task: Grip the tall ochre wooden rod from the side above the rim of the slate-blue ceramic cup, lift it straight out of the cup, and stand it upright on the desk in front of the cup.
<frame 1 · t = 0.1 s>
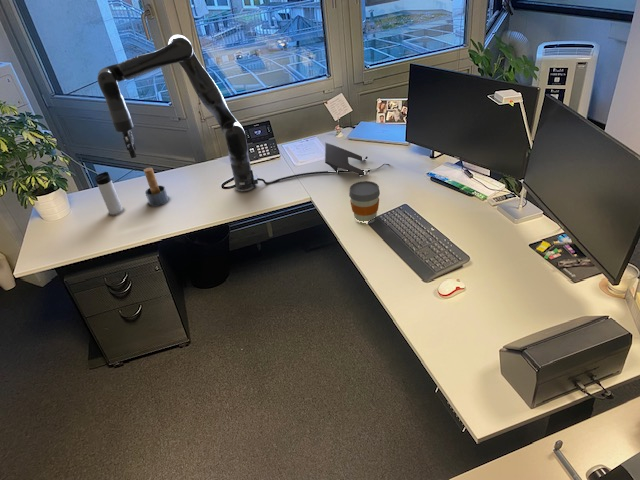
hand: (133, 153, 204), 29 cm above the table, tool pointing down, fingers open, 8 cm apart
reusable coffee cup: (365, 219, 198), on the table
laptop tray: (347, 169, 236), on the table
wooden rod: (158, 200, 226), point 1 cm above the table, touching pen cup
travel mug: (116, 212, 222), on the table
pen cup: (159, 201, 227), on the table
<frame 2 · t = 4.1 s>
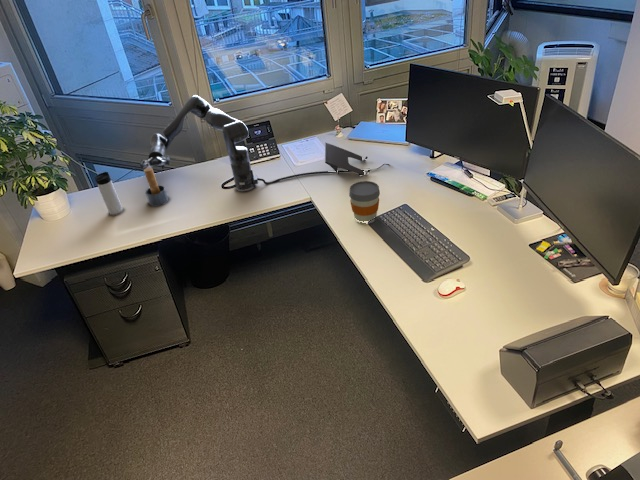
hand: (153, 168, 228), 13 cm above the table, tool horizontal, fingers open, 8 cm apart
nothing on the table moved.
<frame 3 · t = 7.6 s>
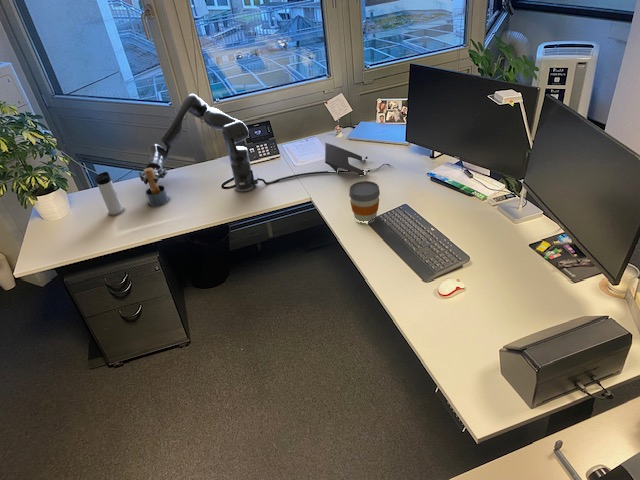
hand: (150, 181, 217), 12 cm above the table, tool horizontal, fingers closed on wooden rod, 4 cm apart
wooden rod: (158, 200, 226), point 1 cm above the table, touching gripper, pen cup
everything else where it was.
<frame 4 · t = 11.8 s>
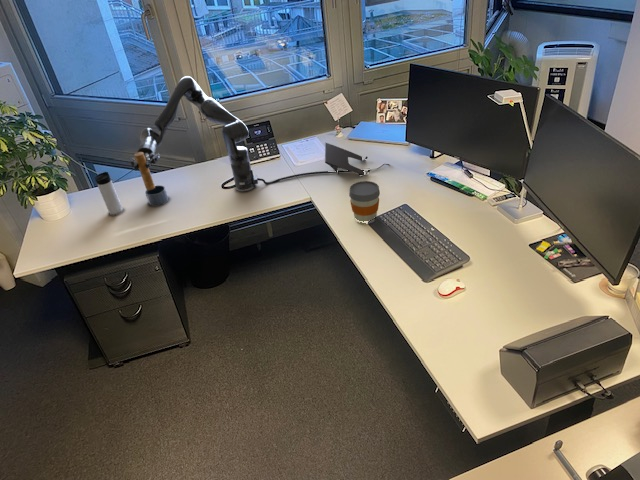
hand: (141, 167, 202), 25 cm above the table, tool horizontal, fingers closed on wooden rod, 4 cm apart
wooden rod: (150, 188, 211), point 13 cm above the table, touching gripper
everything else where it was.
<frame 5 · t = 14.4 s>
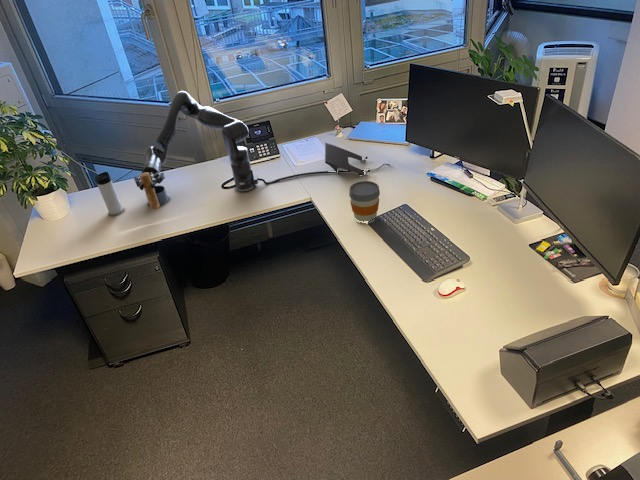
hand: (146, 187, 203), 17 cm above the table, tool horizontal, fingers closed on wooden rod, 4 cm apart
wooden rod: (155, 207, 212), point 5 cm above the table, touching gripper
everything else where it was.
when the fingers open (12 cm above the table, at t = 16.2 s): wooden rod stays where it is, on the table.
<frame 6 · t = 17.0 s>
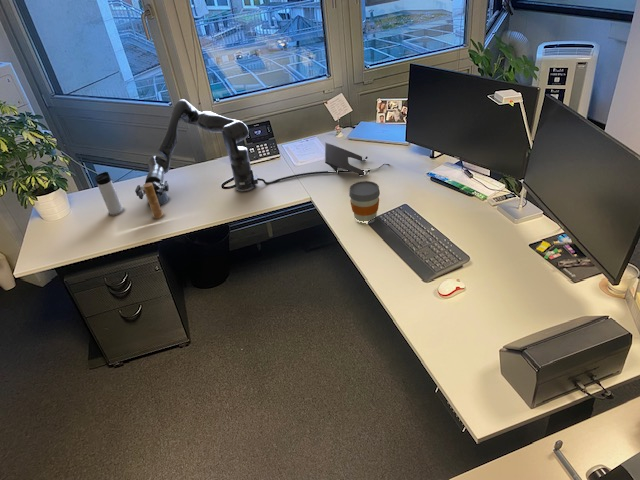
hand: (150, 196, 206), 12 cm above the table, tool horizontal, fingers open, 8 cm apart
wooden rod: (158, 217, 215), on the table
everything else where it was.
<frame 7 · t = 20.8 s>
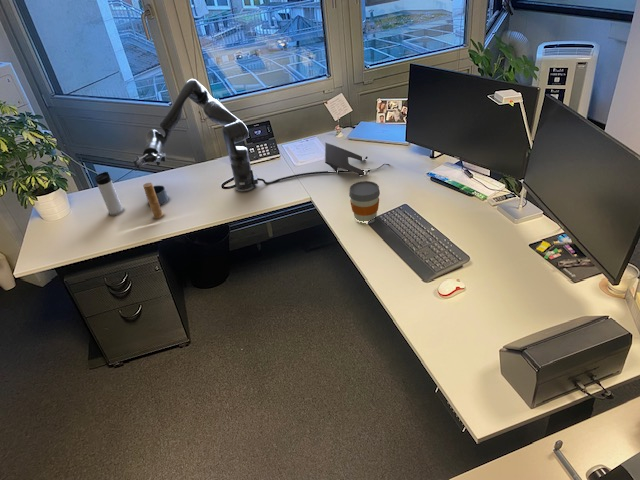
hand: (148, 165, 211), 21 cm above the table, tool horizontal, fingers open, 8 cm apart
nothing on the table moved.
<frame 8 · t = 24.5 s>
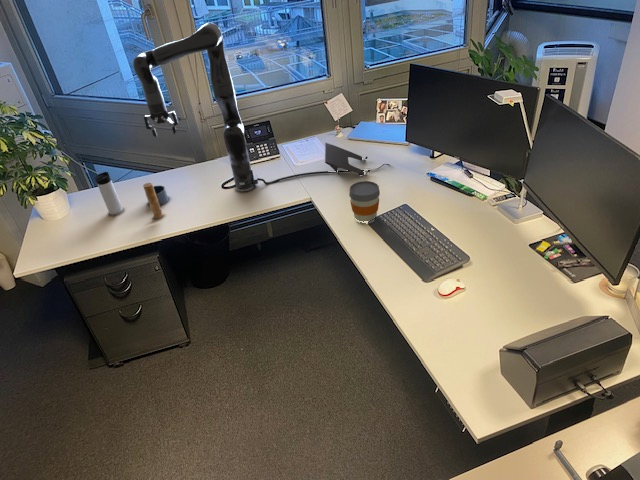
hand: (165, 135, 216), 30 cm above the table, tool pointing down, fingers open, 8 cm apart
nothing on the table moved.
at the end: wooden rod inside the target area (0.1 cm from its centre), on the table; wooden rod tilted 0°; the gripper is holding nothing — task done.
